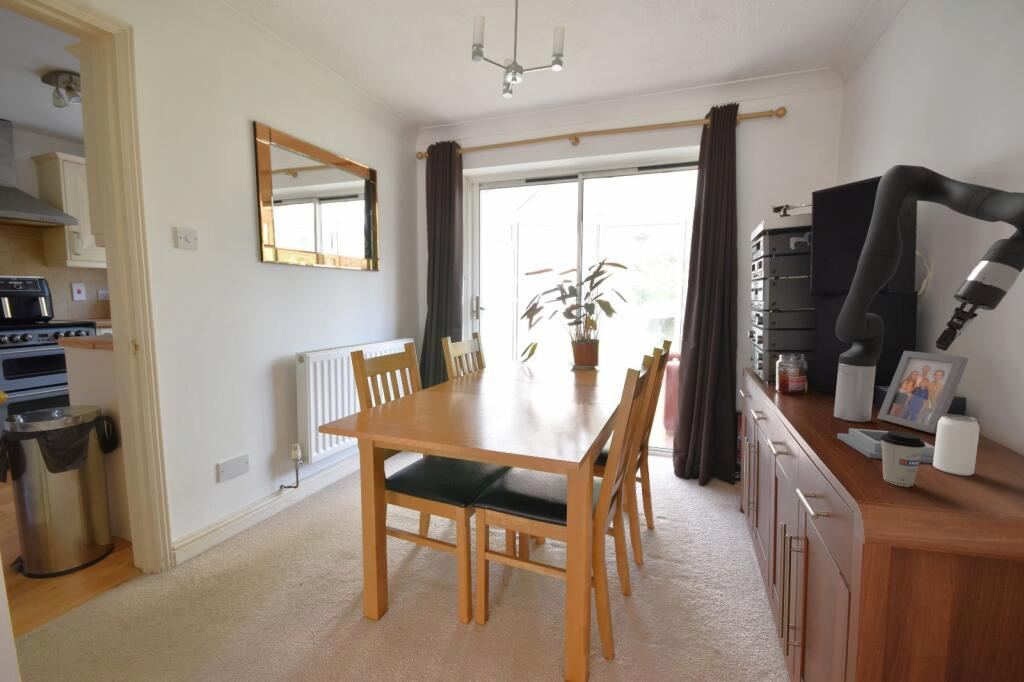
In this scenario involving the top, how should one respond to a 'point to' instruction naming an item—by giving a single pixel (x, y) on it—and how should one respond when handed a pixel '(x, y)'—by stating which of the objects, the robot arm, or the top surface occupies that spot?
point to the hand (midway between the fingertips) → (940, 347)
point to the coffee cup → (901, 457)
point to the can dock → (877, 443)
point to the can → (956, 444)
